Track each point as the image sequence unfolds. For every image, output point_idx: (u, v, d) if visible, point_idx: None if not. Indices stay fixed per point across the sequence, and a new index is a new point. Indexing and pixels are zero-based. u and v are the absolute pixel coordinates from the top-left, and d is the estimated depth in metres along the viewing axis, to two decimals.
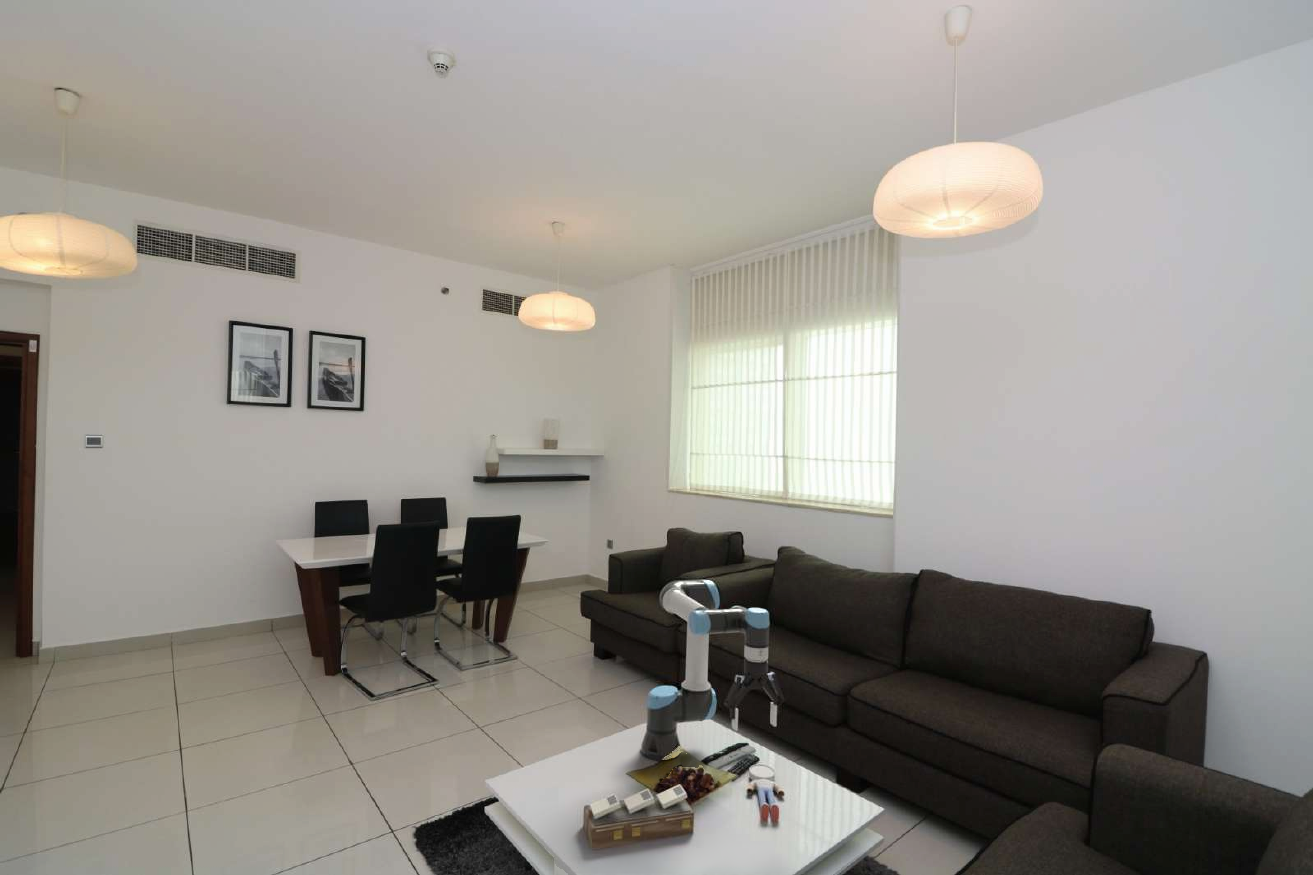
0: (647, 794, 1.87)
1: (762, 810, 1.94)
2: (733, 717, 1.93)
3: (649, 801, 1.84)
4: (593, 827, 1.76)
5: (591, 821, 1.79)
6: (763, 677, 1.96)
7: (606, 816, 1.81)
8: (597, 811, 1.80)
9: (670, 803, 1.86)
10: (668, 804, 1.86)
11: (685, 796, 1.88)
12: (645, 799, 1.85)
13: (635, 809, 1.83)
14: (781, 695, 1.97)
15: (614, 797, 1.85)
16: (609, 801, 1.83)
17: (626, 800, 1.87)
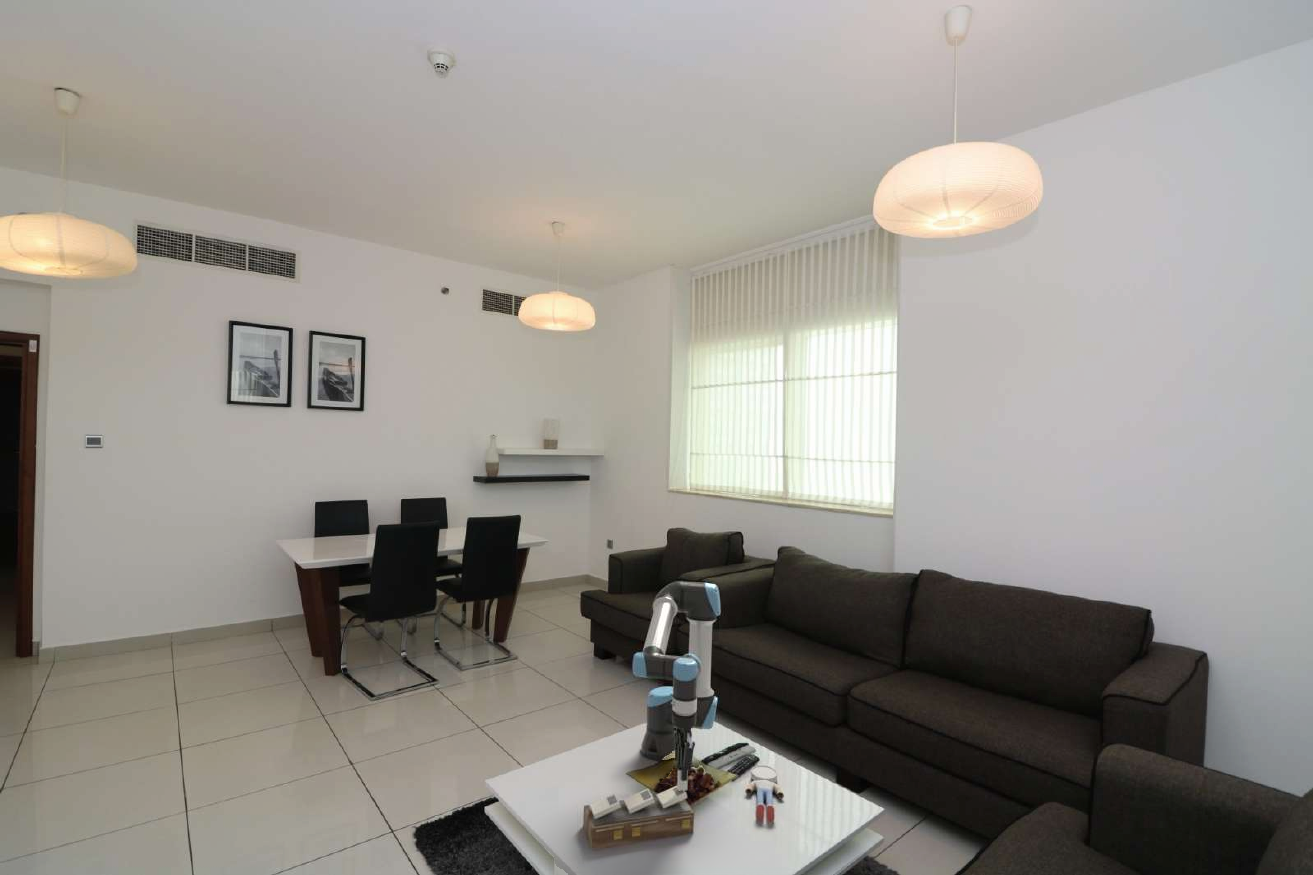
0: (647, 794, 1.87)
1: (757, 810, 1.93)
2: None
3: (649, 801, 1.84)
4: (593, 827, 1.76)
5: (591, 821, 1.79)
6: (683, 731, 1.89)
7: (606, 816, 1.81)
8: (597, 811, 1.80)
9: (670, 803, 1.86)
10: (668, 804, 1.86)
11: (685, 796, 1.88)
12: (645, 799, 1.85)
13: (635, 809, 1.83)
14: (683, 763, 1.87)
15: (614, 797, 1.85)
16: (609, 801, 1.83)
17: (626, 800, 1.87)
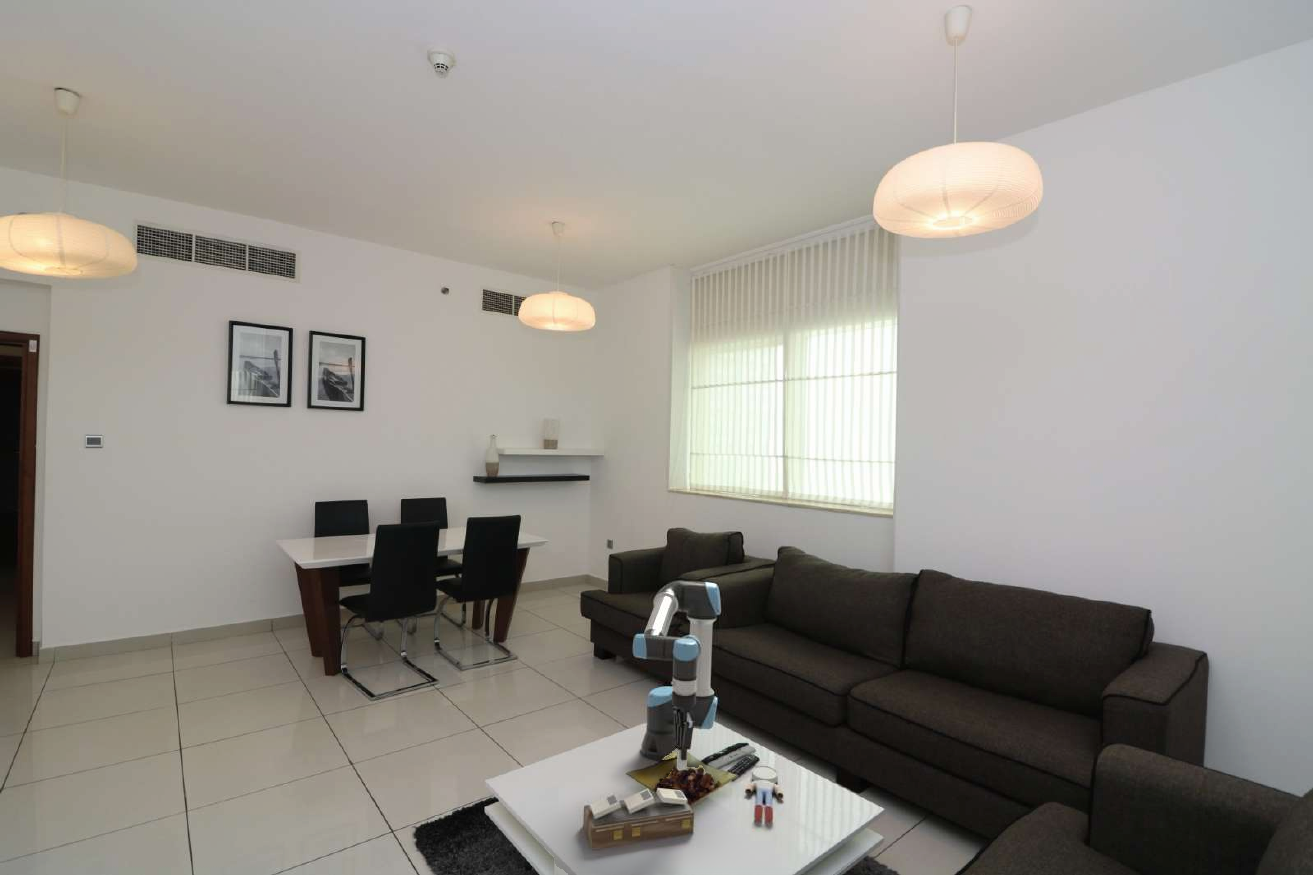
0: (647, 794, 1.87)
1: (756, 810, 1.93)
2: None
3: (649, 801, 1.84)
4: (593, 827, 1.76)
5: (591, 821, 1.79)
6: (683, 711, 1.89)
7: (606, 816, 1.81)
8: (597, 811, 1.80)
9: (670, 801, 1.86)
10: (668, 800, 1.86)
11: (685, 802, 1.88)
12: (645, 799, 1.85)
13: (635, 809, 1.83)
14: (683, 743, 1.87)
15: (614, 797, 1.85)
16: (609, 801, 1.83)
17: (626, 800, 1.87)
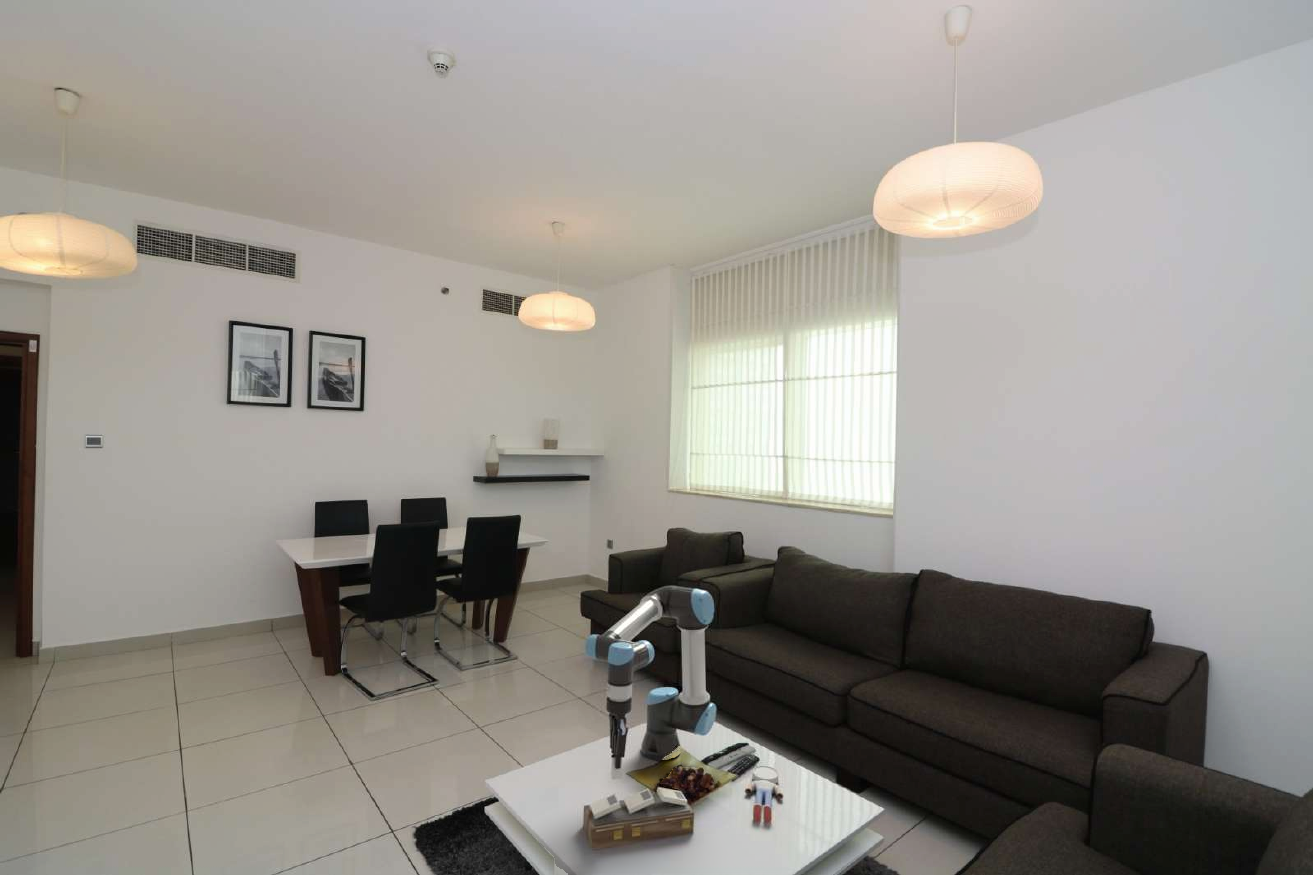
0: (647, 794, 1.87)
1: (754, 810, 1.93)
2: None
3: (649, 801, 1.84)
4: (593, 827, 1.76)
5: (591, 821, 1.79)
6: (617, 718, 1.82)
7: (606, 816, 1.81)
8: (597, 811, 1.80)
9: (670, 800, 1.86)
10: (668, 800, 1.86)
11: (685, 803, 1.88)
12: (645, 799, 1.85)
13: (635, 809, 1.83)
14: (616, 750, 1.81)
15: (614, 797, 1.85)
16: (609, 801, 1.83)
17: (626, 800, 1.87)
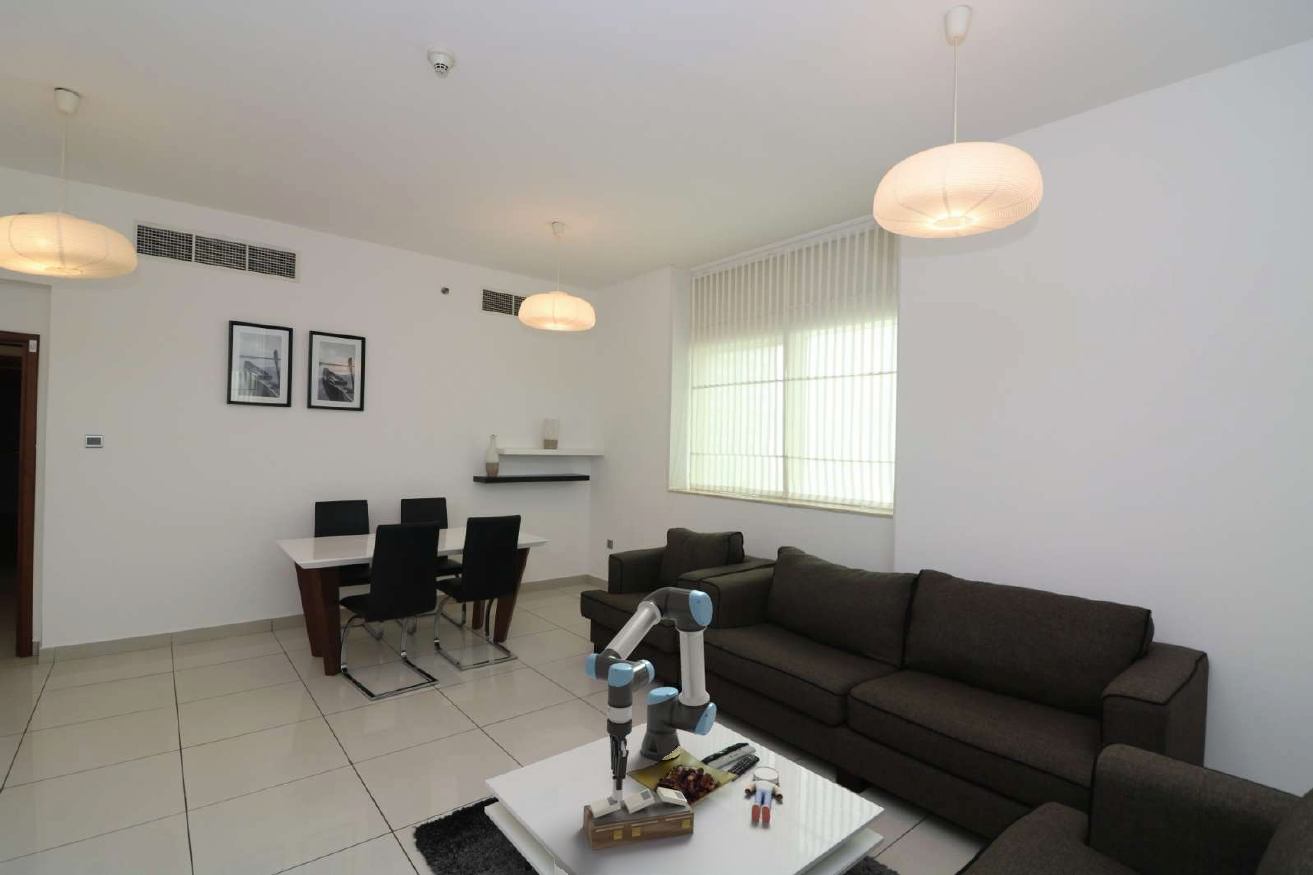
0: (647, 794, 1.87)
1: (753, 810, 1.93)
2: None
3: (649, 801, 1.84)
4: (593, 827, 1.76)
5: (591, 821, 1.79)
6: (617, 739, 1.82)
7: (606, 816, 1.81)
8: (597, 810, 1.80)
9: (670, 800, 1.86)
10: (668, 800, 1.86)
11: (684, 803, 1.88)
12: (645, 799, 1.85)
13: (635, 809, 1.83)
14: (617, 772, 1.81)
15: None
16: (610, 801, 1.83)
17: (626, 800, 1.87)
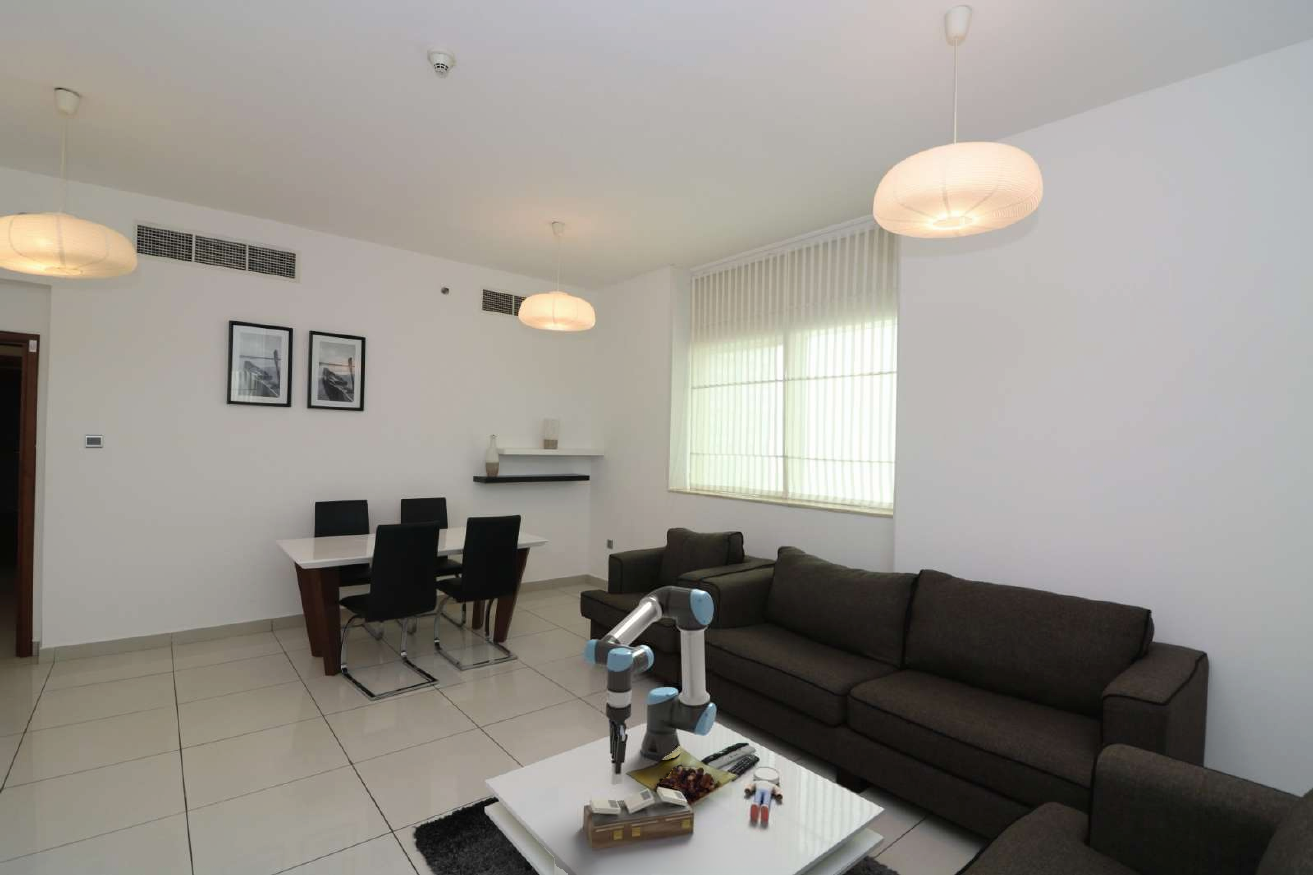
0: (647, 794, 1.87)
1: (752, 810, 1.93)
2: None
3: (649, 801, 1.84)
4: (593, 827, 1.76)
5: (591, 821, 1.79)
6: (616, 724, 1.82)
7: (606, 816, 1.81)
8: (598, 806, 1.80)
9: (670, 800, 1.86)
10: (668, 800, 1.86)
11: (684, 803, 1.88)
12: (645, 799, 1.85)
13: (635, 809, 1.83)
14: (616, 756, 1.81)
15: (615, 802, 1.85)
16: (611, 803, 1.83)
17: (626, 800, 1.87)
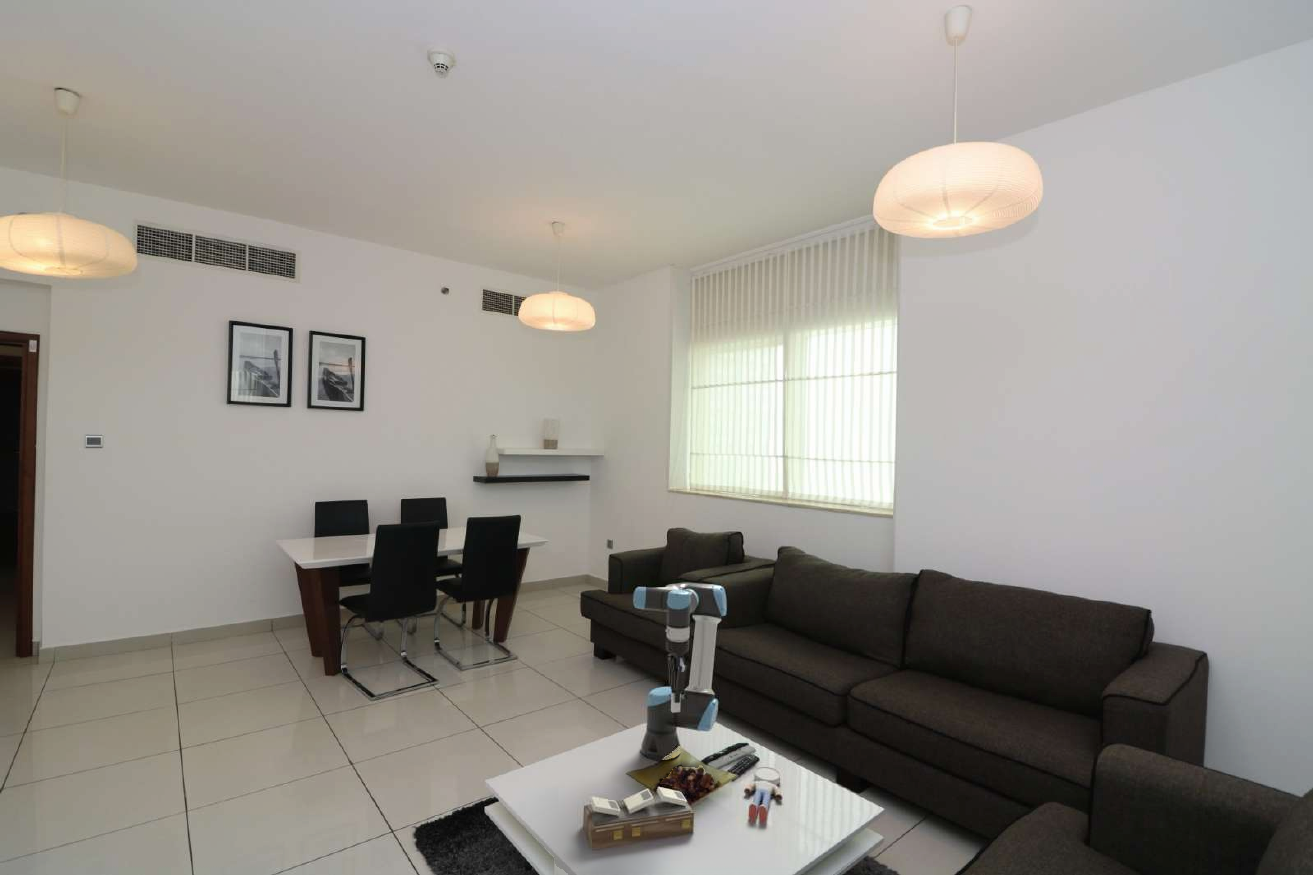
0: (647, 794, 1.87)
1: (750, 810, 1.93)
2: None
3: (649, 801, 1.84)
4: (593, 827, 1.76)
5: (591, 821, 1.79)
6: (676, 657, 2.00)
7: (606, 816, 1.81)
8: (599, 805, 1.80)
9: (670, 800, 1.86)
10: (668, 800, 1.86)
11: (684, 803, 1.88)
12: (645, 799, 1.85)
13: (635, 809, 1.83)
14: (676, 686, 1.99)
15: (615, 803, 1.85)
16: (611, 804, 1.83)
17: (626, 800, 1.87)
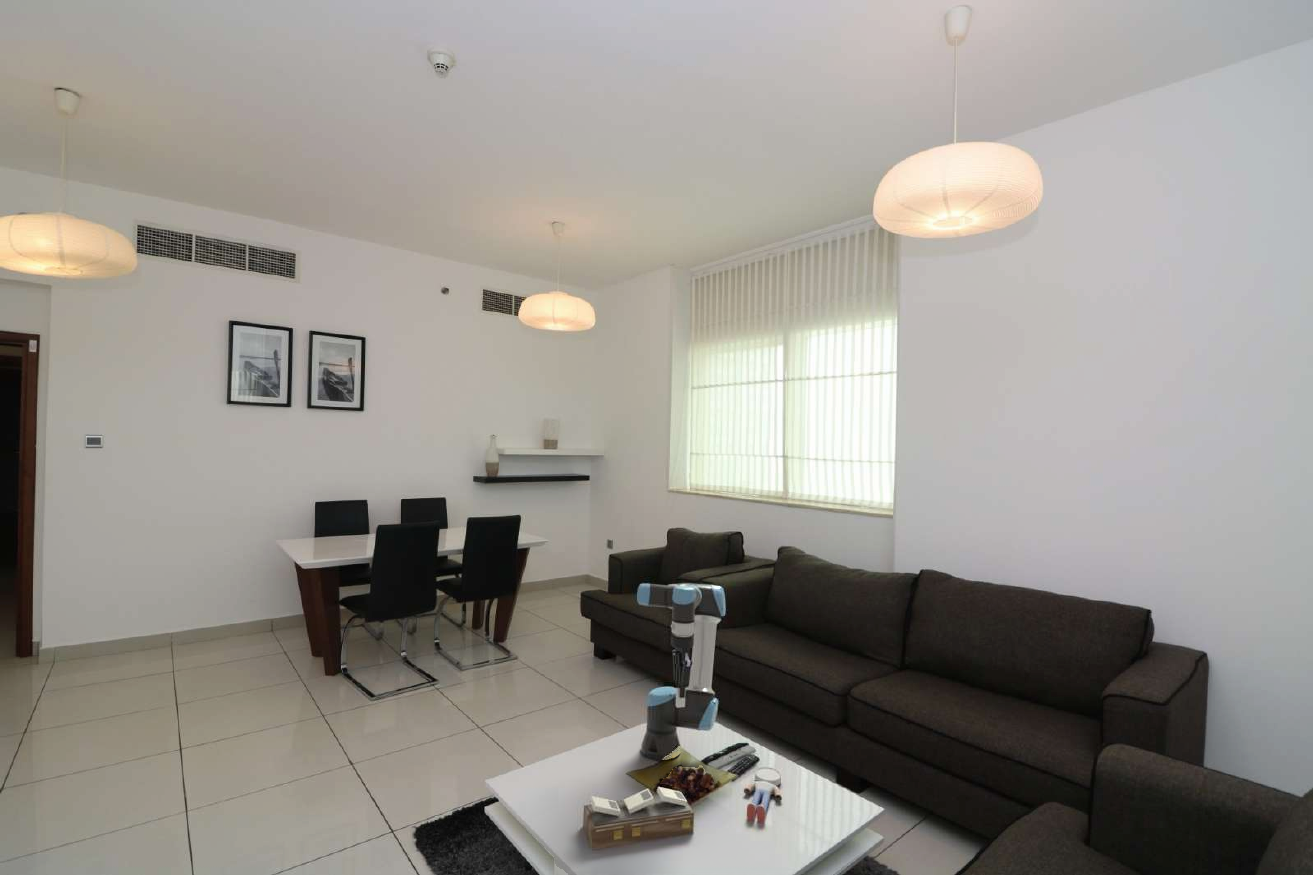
0: (647, 794, 1.87)
1: (748, 809, 1.93)
2: None
3: (649, 801, 1.84)
4: (593, 827, 1.76)
5: (591, 821, 1.79)
6: (681, 652, 2.02)
7: (606, 816, 1.81)
8: (599, 805, 1.80)
9: (670, 800, 1.86)
10: (668, 800, 1.86)
11: (684, 803, 1.88)
12: (645, 799, 1.85)
13: (635, 809, 1.83)
14: (681, 681, 2.00)
15: (615, 803, 1.85)
16: (611, 804, 1.83)
17: (626, 800, 1.87)
